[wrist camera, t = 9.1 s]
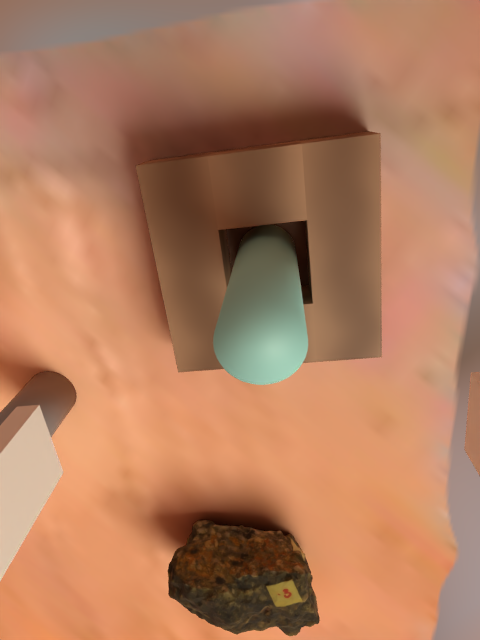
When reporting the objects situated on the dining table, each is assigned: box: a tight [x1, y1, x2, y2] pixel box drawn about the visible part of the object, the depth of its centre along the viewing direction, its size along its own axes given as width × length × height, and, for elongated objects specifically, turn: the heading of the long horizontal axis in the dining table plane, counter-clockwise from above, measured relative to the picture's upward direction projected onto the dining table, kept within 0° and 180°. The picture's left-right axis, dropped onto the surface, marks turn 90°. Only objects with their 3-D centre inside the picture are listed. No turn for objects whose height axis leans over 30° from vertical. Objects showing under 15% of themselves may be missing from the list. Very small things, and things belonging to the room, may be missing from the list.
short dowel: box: [0, 371, 76, 437], centre depth 35 cm, size 4×4×7 cm
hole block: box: [136, 131, 382, 372], centre depth 30 cm, size 14×14×4 cm
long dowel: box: [213, 224, 308, 385], centre depth 26 cm, size 4×4×14 cm
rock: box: [168, 520, 319, 636], centre depth 41 cm, size 12×9×8 cm
